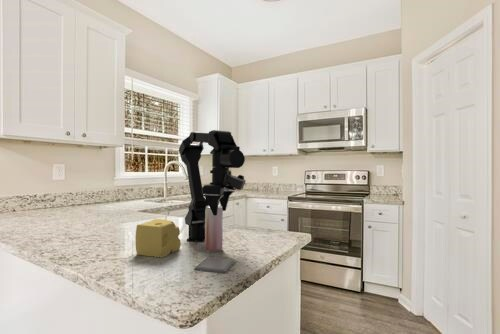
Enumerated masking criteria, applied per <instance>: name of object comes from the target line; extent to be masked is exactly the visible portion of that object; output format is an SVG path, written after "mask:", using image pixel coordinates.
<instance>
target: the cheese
mask: <svg viewBox="0 0 500 334" xmlns="http://www.w3.org/2000/svg"><path fill="white" fill-rule="evenodd" d="M180 231H181V230H180V227H179V226H177V225H176V224H175V223H174V221H173V220H167V219H161V218H154V219H152V220H150V221H146V222H141V223H138V224H137V225H136V230H135V252H136V255H138V256H145V257H146V256H147V257H153V256H154V258H159V257H160V258H165V257H167V255H168V256H169V254H170V253H175V252H176V251H179V250H181V240H180V238H179V236H180V235H181V234H180ZM174 251H175V252H174Z"/></svg>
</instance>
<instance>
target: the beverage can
mask: <svg viewBox="0 0 500 334" xmlns="http://www.w3.org/2000/svg"><path fill="white" fill-rule="evenodd" d="M223 215H224V211H223V209H222V206H221V205H219V206H218V212H217V215H216V216H215V215H213V213H212V211H211V208H210V206H206V209H205V240H204V249H205V252H207V251H208V253H219V252H221V251H222V249H223V234H224V231H223V230H224V229H223V225H224V224H223V223H224V222H223V221H224V220H223V219H224V218H223V217H224V216H223Z"/></svg>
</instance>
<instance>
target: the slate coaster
mask: <svg viewBox="0 0 500 334" xmlns="http://www.w3.org/2000/svg"><path fill="white" fill-rule="evenodd" d="M235 263H236V260H235V259H227V258H226V259H225V258H219V257H218V258H216V257H206V258H205V259H203V260H202V261H200V263H198V264H197V265H196V266H195V267H194V270H195V271H200V270H203V271H202V272H210V273H211V272H212V273H221V274H226V273H227V272H228V271H229V270H230V268H231V267H232V266H233V265H234V264H235Z"/></svg>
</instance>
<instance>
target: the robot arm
mask: <svg viewBox="0 0 500 334" xmlns="http://www.w3.org/2000/svg"><path fill="white" fill-rule="evenodd" d="M194 143H199V144H194ZM204 143H206V144H207V145H208V146H210V147H211V148H212V149H211V150H210V151H209V153H210V155H212V158H211V159H212V161H211V162H212V163H211V164H212V165H211V167H212V168H211V170H209V174H211V182H209V184H204V185H203V184H202V179H201V177H202V176H201V171H200V166H199V161H200V159H201V158H202V153H203V151H204V149H205V148H204ZM178 153H179V155H180V160H181V161H182V162H183V163H184V165H185V166H186V172H187V178H188V185H189V191H190V199H191V200H190V203H189V204H188V207H187V208H188V209H187V210H188V211H187V213H186V215H185V218H184V222H185V225H187V226H188V238H186V241H188V242H199V243H201V242H202V243H203V241H204V242H205V209H206V206H210V208H211V211H212V213H213V215H215V216H216V215H217V212H218V206H222V209H223V212H226V210H227V207H228V204H229V199H230V197H231V195H232V194H233V193H235V191H236V190H238V191H241V190H243V189H244V186H245V185H246V181H247V180H246V179H245V175H242V174H239V175H237V176H236V175H232V171H231V170H230V168H231V169H239V168H241V167H243V166H244V164H245V160H246V157H245V154H244V153H243V152H242V151H241V150H240V146H238V145H237V144H236V141H235V139H234V137H233V135H232V132H231V131H229V130H228V131H226V130H217V129H213V130H212V129H211V130H210V131H208V132H202V131H191V132H190V134H189V136H187V137H186V138H185V139H183V140H182V142H181V143H180V146H179V148H178Z"/></svg>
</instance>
